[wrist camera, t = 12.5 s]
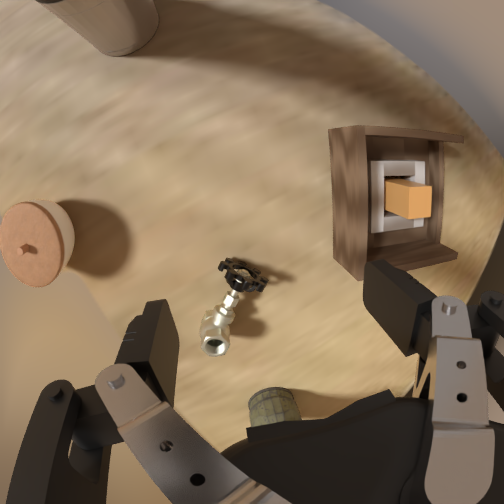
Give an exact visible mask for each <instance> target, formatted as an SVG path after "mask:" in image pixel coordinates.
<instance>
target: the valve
mask: <svg viewBox="0 0 504 504" xmlns="http://www.w3.org/2000/svg"><path fill="white" fill-rule="evenodd" d="M246 265H247V264H246V263H245V262H242V261H239V263H235V262H234V261H233V260H232V259H230V258H226V259H225V261H221V262H220V264H219V266H218V269H219V270H220V271H223V269H227V273H226V275H225V279H226V281H227V283H228V284H229V285H230V287H231V288H232V290H231V291H228V292H227V293H226V295H225V297H224V299H223V302H224V304H221V305H216V306H215V307H214V310H210V311H206V312H205V314H204V317H203V319H202V321H201V326H200V337H201V348H202V350H203V351H204V352H205V353H206V354H208V355H209V356H222V355H225V353H226V352H227V350H228V348H229V346H230V339H229V337H230V328H229V326H228V324H231V323H232V322H233V320H234V318H235V313H234V312H233V308H232V307H236V305H237V303H238V301H239V296H238V293H239V292H244V290H245V291H247V292H252V291H254V290H255V289H256V291H258V292H263V290H264V288H265V287H266V285H267V283H268V281H269V280H268V279H267V278H265V277H261V276H259V275H260V273H261V272H260V271H259V270H258V269H255V268H254V269H250V268H248V267H247V266H246ZM234 269H238V271H237V272H236V271H235V270H234ZM250 276H252V277H253V278H254V279H250ZM250 286H252V287H250Z"/></svg>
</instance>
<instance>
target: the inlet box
mask: <svg viewBox="0 0 504 504" xmlns="http://www.w3.org/2000/svg"><path fill="white" fill-rule="evenodd" d="M328 133H329V146H330V160H331V177H332V200H333V258H334V259H335V260H336V261H337V262H338V263H339V264H340V265H341V266H343V267H344V268H345V269H346V270H347V271H348V272H349V273H350V274H351V275H352V276H353V277H354V278H355V279H356V280H357V281H362V280H364V266H365V264H366V262H370V261H374V260H379V259H384V260H386V261H387V262H388V263H390V264H391V265H392V266H394V267H396V268H398V269H401V270H403V271H409V270H413V269H417V268H422V267H426V266H430V265H434V264H439V263H443V262H447V261H451V260H455V259H457V255H458V253H457V252H456V251H454V250H452V249H450V248H448V247H446V246H444V245H442V244H440V235H441V224H442V211H443V190H444V152H443V142H456V143H464V138H463V136H460V135H454V134H447V133H440V132H433V131H425V130H416V129H406V128H394V127H380V126H359V125H356V126H348V127H341V128H334V129H328ZM384 176H401V179H404V180H408V181H413V182H417V183H421V184H425V185H429V186H432V200H431V217H424V218H416V219H406V218H404V217H402V216H399V215H397V214H394V213H392V212H389V211H387V210H385V211H384Z"/></svg>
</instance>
